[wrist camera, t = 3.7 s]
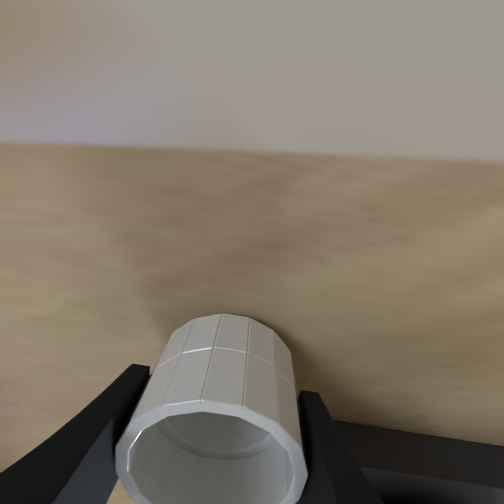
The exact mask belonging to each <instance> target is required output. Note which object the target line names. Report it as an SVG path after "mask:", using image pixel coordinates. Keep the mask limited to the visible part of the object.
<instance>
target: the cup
mask: <svg viewBox="0 0 504 504" xmlns="http://www.w3.org/2000/svg"><path fill="white" fill-rule="evenodd" d="M115 471H116V474H117V476H118V477H119V479H120V481H121V483H122V484H123V486H124V488H125V489H126V491H127V493H128V494H129V495H130V497H131V498H133V499H134V500H135V501H137V502H138V503H139V504H295V503H296V502H298V501H299V499H300V498H301V495H302V492H303V489H304V486H305V483H306V480H307V478H308V466H307V459H306V451H305V443H304V436H303V428H302V421H301V413H300V406H299V398H298V391H297V383H296V375H295V369H294V365H293V360H292V356H291V352H290V351H289V349H288V347H287V346H286V345H285V344H284V342H283V341H282V340H281V339H280V338H279V336H278V335H277V334H276V333H275V332H274V331H273V330H272V329H270V328H268V327H267V326H265V325H263V324H261V323H259V322H258V321H256V320H254V319H252V318H249V317H244V316H238V315H232V314H225V313H222V314H215V315H209V316H204V317H199V318H196V319H195V318H194V319H192V320H191V321H189V322H188V323H186V324H184V325H183V326H181V327H180V328H178V329H176V330H175V331H174V332H173V333H172V334H171V336H170V338H169V339H168V341H167V342H166V344H165V346H164V347H163V349H162V351H161V353H160V355H159V357H158V359H157V361H156V363H155V365H154V367H153V369H152V371H151V373H150V375H149V377H148V379H147V381H146V384H145V386H144V388H143V389H142V392H141V394H140V396H139V398H138V400H137V402H136V404H135V406H134V408H133V410H132V412H131V414H130V416H129V418H128V420H127V422H126V424H125V426H124V429H123V431H122V433H121V435H120V437H119V439H118V441H117V443H116V446H115Z"/></svg>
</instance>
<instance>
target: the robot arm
mask: <svg viewBox="0 0 504 504" xmlns="http://www.w3.org/2000/svg"><path fill="white" fill-rule="evenodd" d="M149 372H150V366H144V365H138V364H132V365H130V366H129V367H128V368H127V369H126V370H125V371H124V372H123V373H122V374H121V375H120V376H119V377H118V378H117V379H116V380H115V381H114V382H113V383H112V384H111V385H110V386H108V387H107V388H106V389H105V390H104V391H103V392H102V393H101V394H100V395H99V396H98V397H97V398H95V399H94V400H93V401H92V402H91V403H90V404H89V405H88V406H86V407H85V408H84V409H83V410H82V411H81V412H80V413H78V414H77V415H76V416H75V417H74V418H72V419H71V420H70V421H69V422H68V423H66V424H65V425H64V426H63V427H61V428H60V429H59V430H58V431H57V432H55V433H54V434H53V435H52V436H50V437H49V438H48V439H47V440H45V441H44V442H43V443H41V444H40V445H39V446H37V447H36V448H35V449H33V450H32V451H31V452H29V453H28V454H27V455H25V456H24V457H22V458H21V459H20V460H18V461H17V462H16V463H14V464H13V465H11V466H10V467H8V468H7V469H5V470H4V471H3V472H1V473H0V504H106V503H107V501H108V499H109V497H110V495H111V493H112V490H113V488H114V486H115V484H116V482H117V480H118V478H119V477H118V476H117V474H116V471H115V446H116V443H117V441H118V439H119V437H120V435H121V433H122V431H123V429H124V426H125V424H126V422H127V420H128V418H129V416H130V414H131V412H132V410H133V408H134V406H135V404H136V402H137V400H138V398H139V396H140V394H141V392H142V389H143V388H144V386H145V384H146V381H147V379H148V377H149ZM299 406H300V413H301V421H302V428H303V436H304V443H305V451H306V459H307V466H308V478H307V480H306V483H305V486H304V489H303V492H302V495H301V498H300V499H299V501H298V502H296V503H295V504H384V503H383V501H382V500H381V498H380V497H379V496H378V494H377V493H376V491H375V490H374V488H373V487H372V485H371V484H370V482H369V481H368V479H367V477H366V476H365V474H364V473H363V471H362V470H361V468H360V467H359V465H358V463H357V462H356V460H355V458H354V457H353V455H352V453H351V452H350V450H349V448H348V447H347V445H346V443H345V441H344V440H343V438H342V436H341V435H340V433H339V431H338V429H337V427H336V425H335V424H334V422H333V420H332V418H331V416H330V414H329V412H328V410H327V409H326V407H325V405H324V403H323V401H322V399H321V397H320V395H319V394H318V392H311V391H305V390H301V392H300V395H299Z"/></svg>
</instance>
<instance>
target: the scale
mask: <svg viewBox="0 0 504 504" xmlns="http://www.w3.org/2000/svg"><path fill="white" fill-rule="evenodd" d="M333 422H334V424H335V425H336V427H337V429H338V431H339V433H340V435H341V436H342V438H343V440H344V441H345V443H346V445H347V447H348V448H349V450H350V452H351V453H352V455H353V457H354V458H355V460H356V462H357V463H358V465H359V467H360V468H361V470H362V471H363V473H364V474H365V476H366V477H367V479H368V481H369V482H370V484H371V485H372V487H373V488H374V490H375V491H376V493H377V494H378V496H379V497H380V498H381V500H382V501H383V503H384V504H504V447H500V446H493V445H487V444H480V443H474V442H467V441H461V440H454V439H448V438H441V437H435V436H428V435H422V434H415V433H409V432H402V431H396V430H389V429H383V428H376V427H370V426H363V425H357V424H350V423H344V422H337V421H333Z"/></svg>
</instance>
